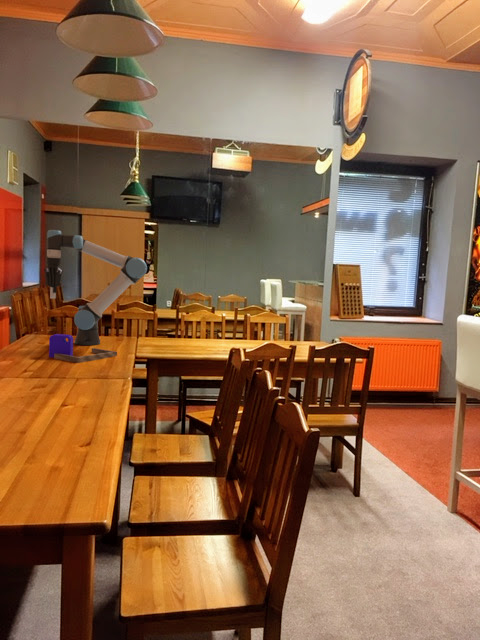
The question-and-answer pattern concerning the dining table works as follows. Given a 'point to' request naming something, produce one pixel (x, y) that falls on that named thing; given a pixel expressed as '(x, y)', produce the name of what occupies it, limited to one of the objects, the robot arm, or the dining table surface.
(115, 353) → the handle
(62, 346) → the bracket
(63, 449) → the dining table surface
